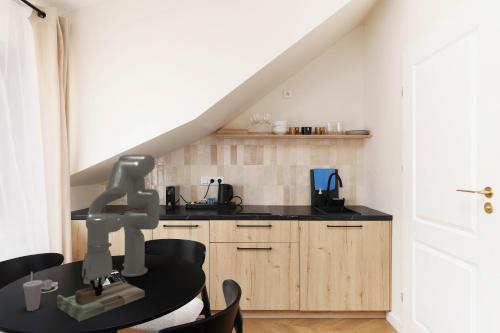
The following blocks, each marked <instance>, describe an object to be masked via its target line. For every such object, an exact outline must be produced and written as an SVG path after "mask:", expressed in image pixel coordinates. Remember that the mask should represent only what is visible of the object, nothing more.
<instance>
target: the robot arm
mask: <svg viewBox="0 0 500 333" xmlns="http://www.w3.org/2000/svg"><path fill="white" fill-rule="evenodd" d="M155 165H156V161H155V158H154V157H153V155H151V154H123V155H121V156H120V157H119V158H118V161H116V162H115V163H114V164H113V166H112V170H111V172H110V175H109V179H108V183H107V187H106V189H105V190H104V191H103V192H102V193H101V194H99V195H98V196H97V197H96V198H95V199H94V200H93V201H92V203H91V204H90V206H89V209H88V211H87V215H86V219H85V227H86V229H87V235H86V236H87V244H86V245H87V252H85V253H84V256H83V260H82V261H83V262H82V270H81V277H82V278H83V284H85V285H92V289H93V290H95V296H97V297H98V296H99V295H100V296H101V295H102V291H103V286H104V284H105V282H106V281H107V279H109V278H111V277H112V273H113V259H112V253H111V250H110V247H112V242H109V240H110V239H109V236H110V233H116V232H118V231H120V230H121V229H122V228H123V231H124V232H123V233H124V262H123V263H122V265H121V266H122V267H123V269H122V270H121V271H120V272H121V273H120V275H121V276H122V277H127V278H129V277H130V278H131V277H139V276H143V275H145V274H146V273H148V268H147V267H146V266H145V254H146V252H145V250H146V249H145V235H144V233H143V231H142V230H147V231H148V230H150V231H151V230H155V229H157V228H158V226H159V223H160V194H159V192H158V190H156V189H153V188H146V185H145V184H146V179H145V177H147V176H148V175H149V174H150V173H151V172H153V170H154V169H155ZM125 196H126V203H127V206H128V207H130V208H135V210H134V209H133V210H128V211H126V212H124V214H123V216H122V214H121V215H120V214H118V213H106V212H105V213H101V211H102V210H103V209H104V208H105V206H107V205H108V204H110V203H112V202H115V201H117V200H119V199H122V198H124V197H125ZM136 208H138V209H140V208H142V209H143V208H144V209H145V208H147V209H148V210H138V209H136Z"/></svg>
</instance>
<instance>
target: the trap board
mask: <svg viewBox="0 0 500 333" xmlns="http://www.w3.org/2000/svg"><path fill="white" fill-rule="evenodd" d="M145 295H146V293H145V290H144V289H141V288H139V287H138V286H135V285H132V284H129V283H127V282H125V281H122V280H119V281H115V282H113V283H110V284H106V285H103V291H102V295H101V296H100V295H99V296H98V297H97V296H95V301H93V302H91V303H88V304H85V305H80V304H78V303H76V302H75V294H74V295H71V296H68V297H65V296H63V295H61V294H58V295H57V296H56V297H57V300H56V301H57V302H56V307H57V309H59V310H61V311H62V312H64V313H65V314H67V315H68V316H70V317H72V318H74V319H73V320H76V321H78V322H79V323H80V322H82V321H85V320H87V319H90V318H93V317H95V316H98V315H100V314H103V313H106V312H108V311H111V310H114V309H115V308H116V309H117V308H118V307H122V306H123V305H124V306H125V305H127V304H129V303H132V302H135V301H137V300H139V299H140V300H141V299H142V298H144V297H146V296H145Z"/></svg>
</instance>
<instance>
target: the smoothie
mask: <svg viewBox="0 0 500 333" xmlns="http://www.w3.org/2000/svg"><path fill="white" fill-rule="evenodd" d="M33 273H34V272H33V271H30V281H26V282H25V283H23V284H22V289H23V291H24V292H23V293H24V300H25V306H26V311H28V312H31V311H32V312H33V311H36V310H38V309H39V308H40V302H41V295H42V293H41V292H42V290H43V289H42V285H43V286H44V284H43V282H44V281H43V280H41V279H39V280H38V279H36V280H33V279H34V278H33Z"/></svg>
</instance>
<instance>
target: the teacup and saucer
mask: <svg viewBox="0 0 500 333" xmlns="http://www.w3.org/2000/svg"><path fill="white" fill-rule="evenodd" d="M58 285H59V282H58V281H53V280H52V279H46V280H44V281H43V285H42V290H44V291H41V294H45V293H51V292H54V291H56V290H58V288H59V286H58ZM52 288H54V289H52Z"/></svg>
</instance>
